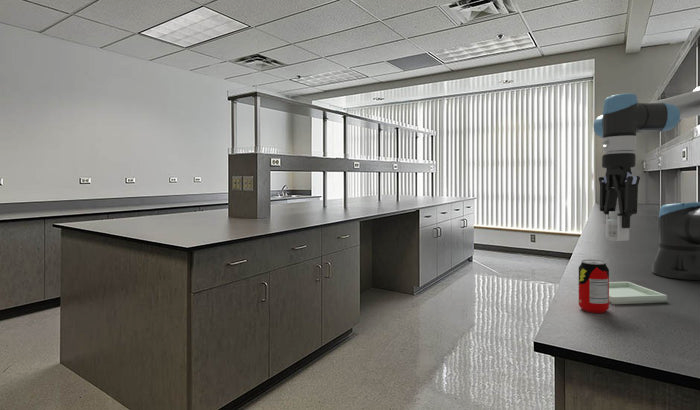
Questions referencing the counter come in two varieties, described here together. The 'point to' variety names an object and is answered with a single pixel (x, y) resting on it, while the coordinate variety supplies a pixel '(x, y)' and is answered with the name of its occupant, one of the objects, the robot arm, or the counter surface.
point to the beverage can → (594, 286)
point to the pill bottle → (612, 226)
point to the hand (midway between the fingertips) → (616, 238)
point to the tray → (633, 294)
